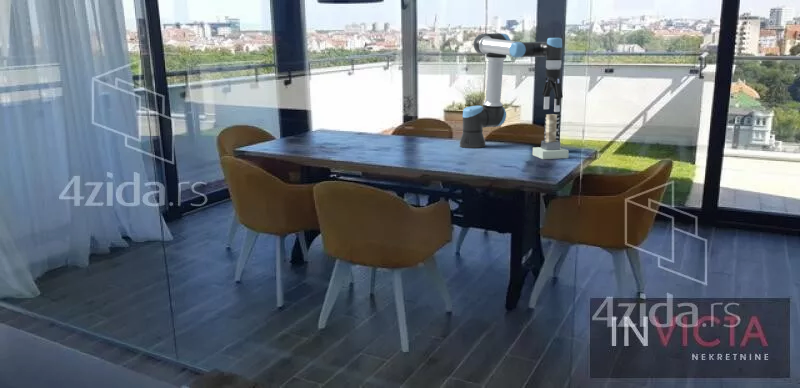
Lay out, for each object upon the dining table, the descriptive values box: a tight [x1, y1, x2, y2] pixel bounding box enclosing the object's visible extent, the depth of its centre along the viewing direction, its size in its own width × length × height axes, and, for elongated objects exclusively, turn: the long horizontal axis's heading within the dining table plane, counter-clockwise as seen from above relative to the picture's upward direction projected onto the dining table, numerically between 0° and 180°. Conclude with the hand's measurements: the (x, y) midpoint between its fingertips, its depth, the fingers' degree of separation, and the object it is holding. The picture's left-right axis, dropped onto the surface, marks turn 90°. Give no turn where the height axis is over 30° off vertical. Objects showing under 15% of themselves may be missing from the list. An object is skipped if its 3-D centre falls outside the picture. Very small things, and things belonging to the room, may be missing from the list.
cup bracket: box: [540, 140, 561, 150], centre depth 327 cm, size 8×8×4 cm
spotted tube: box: [543, 113, 562, 143], centre depth 343 cm, size 8×8×20 cm
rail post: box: [545, 113, 557, 142], centre depth 325 cm, size 4×4×18 cm
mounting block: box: [532, 146, 570, 160], centre depth 328 cm, size 14×14×4 cm
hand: (551, 110), depth 323 cm, fingers open, 13 cm apart
